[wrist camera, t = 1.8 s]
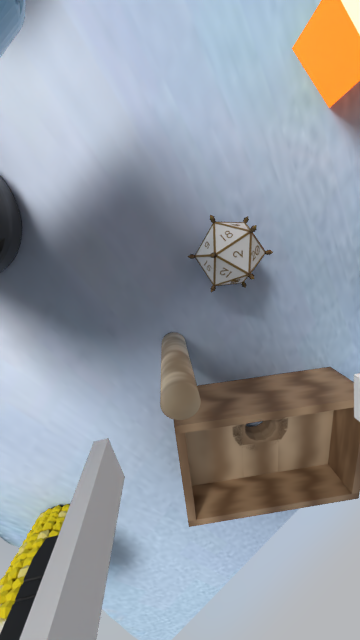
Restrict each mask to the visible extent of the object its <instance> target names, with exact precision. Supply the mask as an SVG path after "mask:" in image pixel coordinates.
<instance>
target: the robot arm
mask: <svg viewBox="0 0 360 640" xmlns="http://www.w3.org/2000/svg"><path fill="white" fill-rule="evenodd" d="M25 10H26V2H25V0H0V57H1V56H2V54H3V53H4V51H5V50H6V49H7V47H8V46H9V44H10V43H11V42H12V40H13V39H14V38H15V36H16V35H17V34H18V32H19V31H20V29H21V27H22V25H23V22H24V18H25ZM21 235H22V224H21V217H20V213H19V209H18V206H17V203H16V201H15V198H14V196H13V194H12V192H11V191H10V189H9V187H8V186H7V184H6V183H5V181H4V180H3V179H2V178H1V176H0V272H1V271H3V270H4V269H5V268H6V267H7V266H8V265H9V264H10V263H11V262H12V261H13V259H14V257H15V256H16V254H17V252H18V249H19V246H20V242H21ZM354 417H355V418H356V419H357V420H358V421H359V422H360V373H358V374H354ZM124 478H125V476H124V474H123V472H122V469H121V467H120V465H119V462H118V460H117V458H116V455H115V453H114V451H113V448H112V446H111V444H110V441H109V439H108V438H107V439H103V440H99V441H95V442H93V445H92V448H91V450H90V453H89V456H88V458H87V461H86V464H85V466H84V469H83V472H82V474H81V477H80V480H79V482H78V485H77V488H76V490H75V493H74V496H73V498H72V501H71V504H70V506H69V509H68V512H67V514H66V517H65V520H64V522H63V525H62V527H61V530H60V533H59V535H56V536H53V537H49V538H46V539H45V541H44V542H43V544H42V545H41V547H40V548H39V550H38V551H37V553H36V554H35V556H34V557H33V559H32V561H31V564H30V566H29V568H28V571H27V573H26V575H25V577H24V582H23V584H21V587H20V589H19V591H18V594H17V596H16V598H15V603H14V604H13V605H12V607H11V610H10V612H9V614H8V617H7V619H6V621H5V624H4V626H3V628H2V631H1V633H0V640H96V638H97V632H98V626H99V620H100V615H101V609H102V604H103V598H104V592H105V587H106V581H107V575H108V569H109V564H110V558H111V552H112V546H113V541H114V535H115V529H116V523H117V518H118V512H119V506H120V501H121V495H122V489H123V483H124Z"/></svg>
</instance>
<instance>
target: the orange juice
mask: <svg viewBox="0 0 360 640" xmlns="http://www.w3.org/2000/svg"><path fill="white" fill-rule="evenodd" d="M292 49H293V51H294V52H295V54H296V56H297V57H298V59H299V60H300V62H301V64H302V65H303V67H304V68H305V70H306V72H307V73H308V75H309V76H310V78H311V80H312V81H313V83H314V84H315V86H316V88H317V89H318V91H319V92H320V94H321V96H322V97H323V99H324V100H325V102H326V104H327V105H328V107H329V108H330V107H331V106H332V105H333V104H334V103H336V102H337V101H338V100H339V99H340V98H341V97H342V96H343V95H344V94H346V93H347V92H348V91H349V90H350V89H351V88H352V87H353V86H354V85H356V84H357V83H358V82H359V81H360V0H322V1H321V2H320V4H319V6H318V7H317V9H316V11H315V12H314V14H313V15H312V17H311V19H310V20H309V22H308V24H307V25H306V27H305V28H304V30H303V32H302V33H301V35H300V37H299V38H298V40H297V41H296V43H295V45H294V46H293V48H292Z"/></svg>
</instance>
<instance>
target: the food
mask: <svg viewBox="0 0 360 640" xmlns="http://www.w3.org/2000/svg"><path fill="white" fill-rule="evenodd" d="M69 506H70V505H69V504H67V505H64V506H63V507H61V506H59V505H58V506H56V507H54V508H53V509H50V508H49V509H48V510H47V511H45V512H43V513H41V514H40V515H39V517H38V519H37V520H36V522H35V524H34V525H33V527H32V530H30V532H29V533H28V534H27V538H26V540H24V541H23V545H22V546H21V547H20V548H19V552H18V553H17V554H16V556H15V557H14V560H13V561H12V562H11V566H10V567H9V569H8V570H7V572H6V575H5V576H4V577H3V578H2V579H1V580H0V633H1V631H2V628H3V626H4V624H5V621H6V619H7V617H8V614H9V612H10V610H11V607H12V605H13V604H14V603H15V598H16V596H17V594H18V591H19V589H20V587H21V584H23V582H24V577H25V575H26V573H27V571H28V568H29V566H30V564H31V561H32V559H33V557H34V556H35V554H36V553H37V551H38V550H39V548H40V547H41V545H42V544H43V542H44V541H45V539H46V538H49V537H53V536H56V535H59V533H60V530H61V527H62V525H63V522H64V520H65V517H66V514H67V512H68V509H69Z"/></svg>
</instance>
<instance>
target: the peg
mask: <svg viewBox="0 0 360 640" xmlns="http://www.w3.org/2000/svg"><path fill="white" fill-rule="evenodd" d="M200 404H201V400H200V395H199V392H198V388H197V384H196V380H195V376H194V373H193V369H192V365H191V361H190V357H189V354H188V350H187V346H186V342H185V339H184V337H183V336H182V335H181V334H179V333H176V332H172V333H168V334H167V335H165V336H164V338H163V339H162V346H161V397H160V405H161V409H162V411H163V413H164V414H165V415H166V416H167V417H169V418H171V419H174V420H185V419H188V418H190V417H192V416H193V415H195V414H196V413H197V411H198V410H199V408H200Z"/></svg>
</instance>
